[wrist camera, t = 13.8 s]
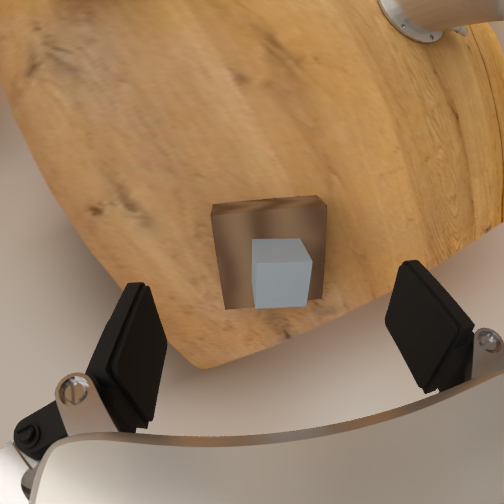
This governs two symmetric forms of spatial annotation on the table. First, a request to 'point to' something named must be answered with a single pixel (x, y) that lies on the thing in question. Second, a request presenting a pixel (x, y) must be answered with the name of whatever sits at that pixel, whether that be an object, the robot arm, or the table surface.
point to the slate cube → (280, 273)
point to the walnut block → (265, 227)
